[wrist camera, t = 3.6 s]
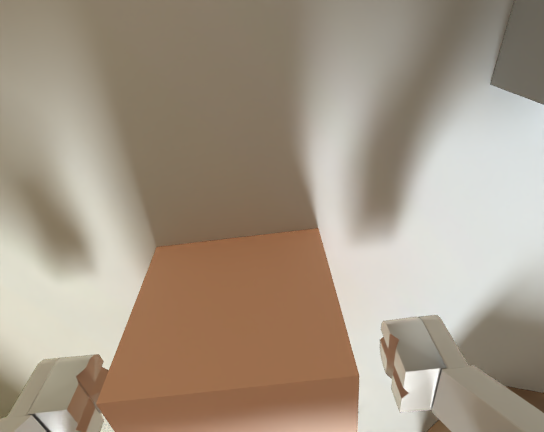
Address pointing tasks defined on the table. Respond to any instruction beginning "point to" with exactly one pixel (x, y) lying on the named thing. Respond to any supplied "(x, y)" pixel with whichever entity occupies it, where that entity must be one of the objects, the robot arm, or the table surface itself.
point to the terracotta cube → (235, 342)
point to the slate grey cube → (523, 52)
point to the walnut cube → (534, 398)
